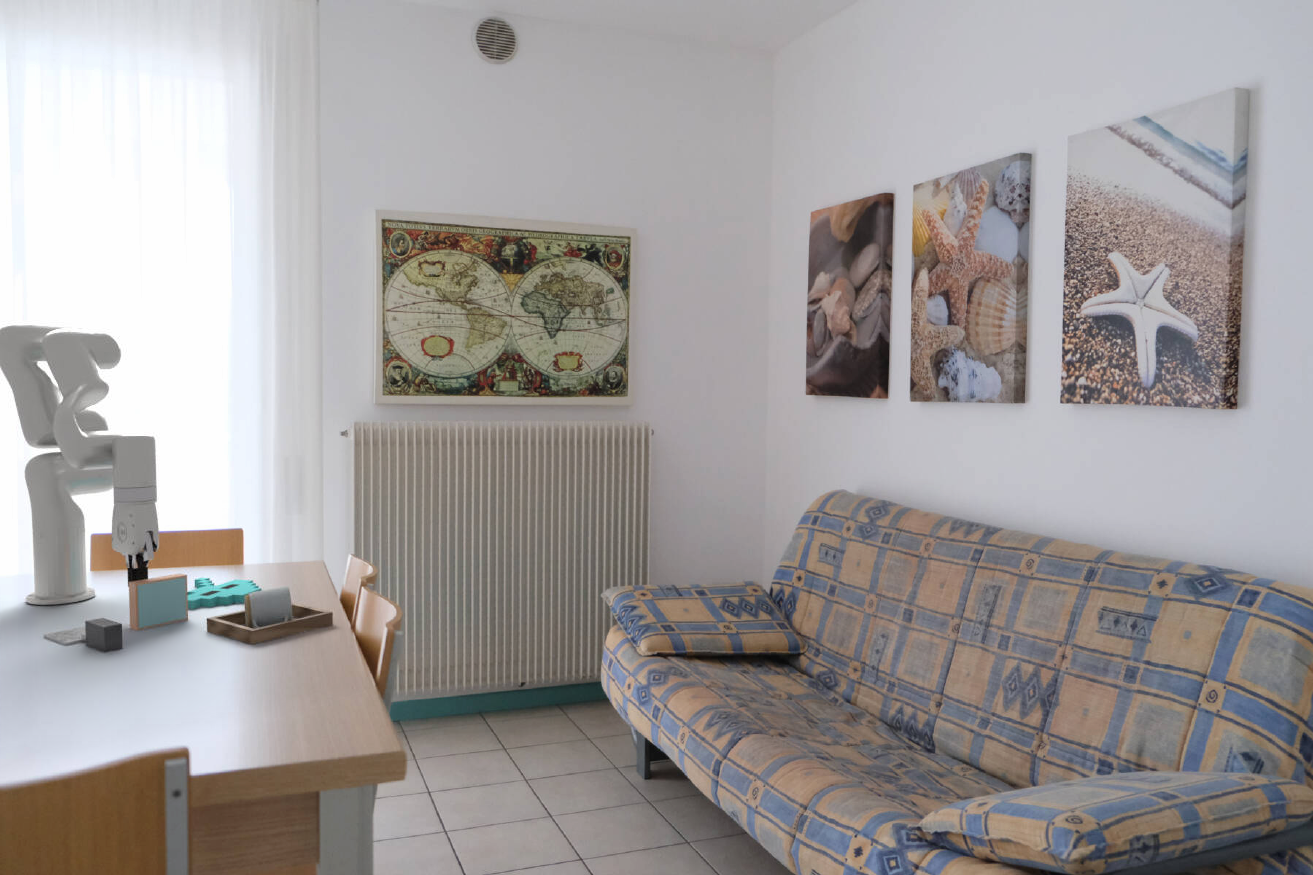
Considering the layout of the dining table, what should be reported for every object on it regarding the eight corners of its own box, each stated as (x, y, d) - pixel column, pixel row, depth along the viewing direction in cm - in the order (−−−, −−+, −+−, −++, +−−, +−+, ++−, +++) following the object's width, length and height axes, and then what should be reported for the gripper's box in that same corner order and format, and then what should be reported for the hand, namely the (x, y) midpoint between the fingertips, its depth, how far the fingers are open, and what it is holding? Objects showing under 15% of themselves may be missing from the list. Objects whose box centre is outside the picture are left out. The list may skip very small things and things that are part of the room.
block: (130, 628, 183) (128, 582, 182) (181, 617, 191) (180, 573, 190) (137, 630, 181) (135, 583, 181) (188, 619, 189) (187, 575, 189)
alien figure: (137, 607, 200) (222, 612, 196) (137, 597, 200) (222, 602, 196) (201, 587, 220) (279, 591, 216) (201, 577, 220) (279, 581, 216)
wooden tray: (206, 631, 181) (206, 618, 181) (287, 613, 195) (286, 601, 195) (252, 644, 172) (252, 630, 172) (332, 624, 186) (332, 612, 186)
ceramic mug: (243, 625, 185) (242, 586, 184) (288, 620, 189) (288, 582, 188) (249, 640, 176) (248, 599, 175) (296, 634, 180) (295, 594, 179)
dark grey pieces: (134, 646, 171) (133, 621, 171) (92, 655, 165) (92, 629, 165) (84, 629, 182) (83, 605, 181) (43, 637, 176) (42, 613, 176)
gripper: (97, 494, 190) (100, 585, 191) (135, 500, 182) (137, 595, 183) (135, 490, 196) (138, 579, 198) (174, 496, 188) (176, 588, 189)
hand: (138, 586), depth 190 cm, fingers closed
